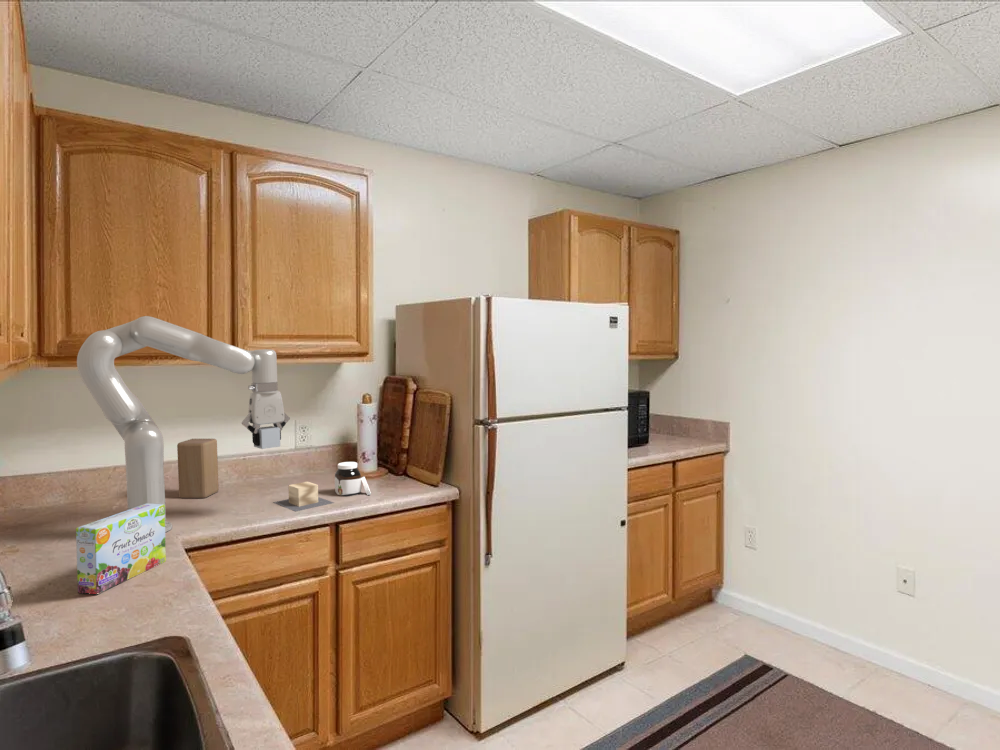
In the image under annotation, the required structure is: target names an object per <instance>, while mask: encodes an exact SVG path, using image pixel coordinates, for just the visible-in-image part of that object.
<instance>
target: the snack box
mask: <svg viewBox="0 0 1000 750" xmlns="http://www.w3.org/2000/svg"><path fill="white" fill-rule="evenodd" d="M165 509H166V503H165V504H144V505H141V506H138V507H135V508H132V509H129V510H128V509H126V510H124V511H121V512H118V513H115V514H113V515H110V516H107V517H104V518H100V519H98V520H95V521H92V522H89V523H87V524H84V525H83V524H82V525H81V526H78V527H76V528H75V537H76V538H75V539H76V541H75V542H76V570H77V571H76V573H77V574H76V575H77V576H76V577H77V578H76V579H77V594H83V593H90V594H97V593H100V592H102V591H104V590H106V589H108V588H110V587H112V588H114V587H116V586H118V585H120V584H122V583H124V582H126V581H128V579H129V580H131V579H132V577H133V578H135V577H137V576H138V575H140V574H142V573H145V572H147V571H149V570H151V569H153V568H155V567H157V566H159V565H161V564H163V563H166V561H167V553H166V552H167V551H166V547H167V546H166V532H165ZM162 562H163V563H162ZM160 563H161V564H160ZM158 564H159V565H158ZM156 565H157V566H156ZM154 566H155V567H154ZM130 578H131V579H130ZM119 583H120V584H119ZM117 584H118V585H117ZM115 585H116V586H115ZM113 586H114V587H113ZM110 589H111V588H110ZM108 590H109V589H108ZM106 591H107V590H106ZM104 592H105V591H104ZM102 593H103V592H102ZM90 594H89V595H90ZM100 594H101V593H100Z"/></svg>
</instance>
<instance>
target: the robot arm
mask: <svg viewBox="0 0 1000 750" xmlns="http://www.w3.org/2000/svg"><path fill="white" fill-rule="evenodd" d="M146 347H149V348H152V349H155V350H158V351H162V352H165V353H168V354H170V355H174V356H177V357H181V358H182V359H186V360H190V361H194V362H198V363H199V362H200V363H204V364H207V365H210V366H214V367H217V368H220V369H223V370H226V371H228V372H232V373H234V374H238V375H244V374H247V373H250V372H251V382H252V383H251V385H248V387H247V389H248V390H251V391H252V392H251V393H250V395H249V401H248V414H247V415H246V417H245V418H244V419H243V420H242V421H241V425H242V426H244V427H245V428H246V429H247V430H248V431H250V433H251V434H252V435H251V436H252V443H253V446H254V445H256V446H260V435H259V433H258V430H259V427H261V426H262V425H269V424H272V425H273V427H278V428H280V441H281V440H282V432H281V431H282V430H283V428H284V427H285V426H286V424H287V423H288V422H289V420H290V419H291V418H290V416H289V415H288V414H287V413H286V412H285V408H284V407H285V406H284V402H283V397H282V392H281V391H279V389H278V366H277V365H278V362H277V360H278V359H277V352H276V350H274V349H267V348H265V349H255V350H247V349H244V348H241V347H238V346H235V345H232V344H229V343H226V342H223V341H221V340H218V339H214V338H212V337H209V336H207V335H204V334H203V333H200V332H197V331H194V330H191V329H188V328H185V327H183V326H179V325H177V324H175V323H174V324H173V323H171V322H168V321H165V320H163V319H160V318H156V317H153V316H150V315H145V316H140V317H138V318H136V319H134V320H132V321H128V322H126V323H123V324H120V325H116V326H114V327H111V328H108V329H104V330H102V329H101V330H98V331H95V332H92V334H90V335H89V336H88V337H87V338H86V339H85V340H84V342H83V344H82V345H81V346H80V349H79V350H78V353H77V357H76V366H77V372H78V375H79V377H80V378H81V380H82V383H83V384H84V385H85V387H86V388H87V390H88V391H89V393H90V395H91V396H92V398H93V399H94V401H95V402H96V404H97V405H98V407H99V408H100V410H101V412H102V414H103V416H104V418H105V419H107V421H109V422H110V423H111V424H112V425H113V427H114V429H115V430H116V432H117V433H118V434H119V435H120V437H121V438H122V439H123V442H124V457H125V479H126V498H127V500H126V501H127V510H129V509H132V508H135V507H138V506H141V505H144V504H165V505H166V491H165V490H166V489H165V487H166V486H165V465H164V464H165V463H164V458H165V457H164V447H165V446H164V444H165V443H164V437H163V434H162V432H161V429H160V428H159V426H158V425H157V424H156V422H155V421H154V419H153V418H152V416H151V415H150V414H149V412H148V411H147V409H146V408H145V406H144V404H143V403H142V401H141V400H140V399H139V397H138V396H137V395H136V394H134V393H133V392H132V391H131V390H130V388H129V387H128V385H127V384H126V383H125V382H124V379H123V378H122V376H121V375H120V373H119V372H118V370H117V369H116V366H115V359H116V358H118V357H121V356H124V355H128V354H129V353H133V352H136V351H138V350H141V349H143V348H146ZM166 513H167V512H166V508H165V533H167V532H169V531H171V529H172V528H173V523H172V522H170V521H167V514H166Z"/></svg>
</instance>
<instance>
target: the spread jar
mask: <svg viewBox="0 0 1000 750" xmlns="http://www.w3.org/2000/svg"><path fill="white" fill-rule="evenodd" d="M362 485H363V489H364V491H365V493H366V495H367V496H371V494H372V492H371V490H370V487H369V484H368V482H367V479H366V477H365V476H362V475H361V472H360V470H359V469H358V462H356V461H343V462H339V463H337V470H336V471H335V473H334V489H335V490H334V491H335V494H337V495H338V496H341V497H352V496H356V495H360V494H361V493H362Z"/></svg>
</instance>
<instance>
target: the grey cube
mask: <svg viewBox="0 0 1000 750" xmlns="http://www.w3.org/2000/svg"><path fill="white" fill-rule="evenodd" d="M258 433H259V435H260V446H256V445H254V444H253V447H254V448H257V449H261V450H263V449H264V450H265V449H271V448H278V447H281V440H280V428H278V427H274V425H273V426H271V425H270V426H260V427H259V430H258Z"/></svg>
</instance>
